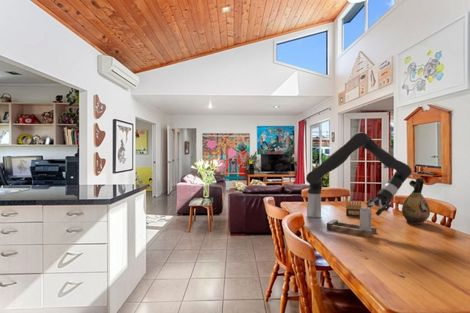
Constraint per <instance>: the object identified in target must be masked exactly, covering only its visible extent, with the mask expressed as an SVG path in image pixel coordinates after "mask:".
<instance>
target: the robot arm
mask: <svg viewBox="0 0 470 313" xmlns="http://www.w3.org/2000/svg"><path fill="white" fill-rule="evenodd" d="M361 147H362V148H363V149H365V150H367V151H368V152H369V153H371V154H372V155H373V156H374V157H375V158H376V159H377V160H378V161H379V163H381V164H383V166H385V167H386V168H388V169H393V170H395V172H394V174H393V175H392V176H391V178H389V179H388V180H387V182H386V183H385V184H384V185H383V186H382V188H380V190H379V191H378V192H377V194H376V197H375V198H374V196H371V197H370V198H369V199H368V201H366V203H365V205H366V207H369V208H370V210H372V208H373V207H378V209H377V210H376V212H375V215H376V216H380V215H381V214H382V213H383V212H384V211H385V212H388V211H389V209H390V208H391V206H392V204H393V203H392V201H391V200H392V199H393V198H394V196H396V195H397V193H398V191H399V189H400V188H401V187H402V185H403V184H404V182H406V181H407V179H408V178H409V177H410V176H411V175H412V173H413V172H412V168H411V167H410V166H409V165H408V164H406V163H405V162H403V161H401V160H398V159H397V158H395V157H394V156H393V155H391V153H389V152H387V151H386V150H385V149H383V148H382V147H381V146H379V145H378V144H377V143H376V142H375V141H374V140H373V139H372V138H371V136H369V134H368V133H366V132H361V131H360V132H356V133H355V134H354V135H353V136H351V137H350V139H348V140H347V142H346V143H345V144H343V145H342V146H341V147H339V148H338V149H337V150H335V151H334V152H333V153H332V154H331V155H330V156H328V157H327V158H326V159H325V160H324V161H323V162H321V164H320V165H319V166H317V167H316V168H314V169H312V170H311V171H310V172H308V173H307V175H306V178H305V180H306V183H307V184H309V187H308V189H307V203H306V217H309V218H313V219H316V218H317V219H319V218H321V217H322V190H323V177H324V176H325V175H326V174H328V173H330V172H332V171H334V170H335V169H337V168H339V167H340V166H341V165H342V164H344V163H345V162H346V161H347V160H348V158H349V157H350V156H351V154H353V153H354V152H355V151H356V150H358V149H359V148H361Z"/></svg>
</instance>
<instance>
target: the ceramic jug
mask: <svg viewBox="0 0 470 313" xmlns="http://www.w3.org/2000/svg"><path fill="white" fill-rule="evenodd" d="M424 182H425V181H424V178H422V177H417V178H416V179H415V180H413V179H412V180H410V181H409V183H408V184H409V186H410V187H412V188H413V191H412V192H411V193H410V195H408V196H407V197H406V199H404V201H403V203H402V207H401V213H402V216H403V217H404V218H405V220H406V221H405V222H406V223H407V224H411V225H412V224H413V225H418V224H420V225H424V223H425V222H426V221H427V220H428V219H429V217H430V216H431V215H430V214H431V209H430V206H429V203H428V201H427V200H426V199H425V197H424V195H423V194H422V191H423V188H424Z"/></svg>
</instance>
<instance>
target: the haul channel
mask: <svg viewBox="0 0 470 313" xmlns="http://www.w3.org/2000/svg"><path fill="white" fill-rule="evenodd" d="M377 229H378V228H377V227H374V226H371V231H366V230H360V224H357V223H356V224H355V223H348V222H343V221H342V222H341V221H339V219H334V218H333V219H331V220H330V221H328V222H326V231H327V230H328V231H331V232H332V231H333V232H338V233H344V234H348V235H349V234H350V235H354V236H360V237H367V238H373V234H377Z"/></svg>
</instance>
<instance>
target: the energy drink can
mask: <svg viewBox="0 0 470 313" xmlns="http://www.w3.org/2000/svg"><path fill="white" fill-rule="evenodd" d="M359 225H360V230H366V231H371V227H372V209H370V208H369V207H367V206H362V207H361V209H360V217H359Z"/></svg>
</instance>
